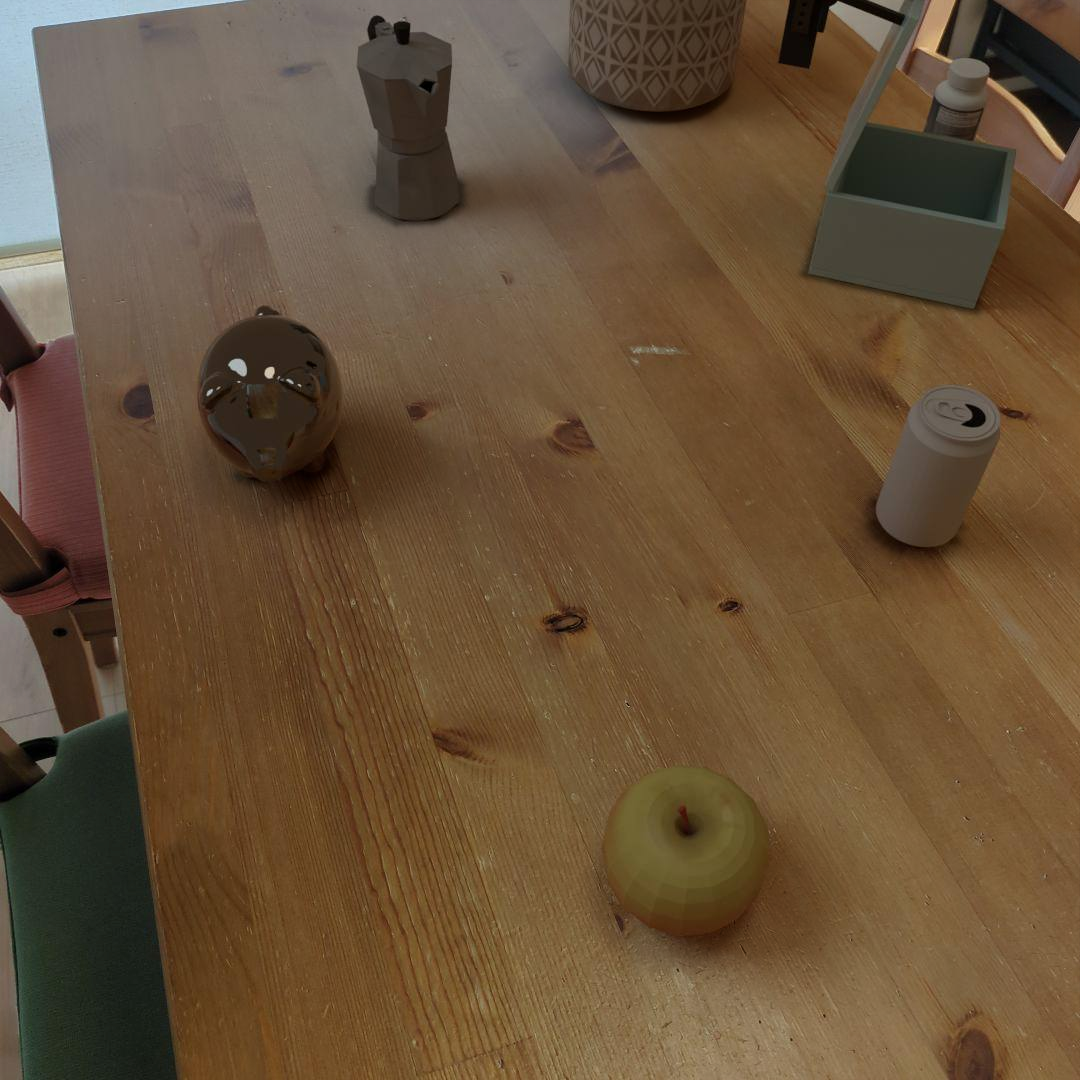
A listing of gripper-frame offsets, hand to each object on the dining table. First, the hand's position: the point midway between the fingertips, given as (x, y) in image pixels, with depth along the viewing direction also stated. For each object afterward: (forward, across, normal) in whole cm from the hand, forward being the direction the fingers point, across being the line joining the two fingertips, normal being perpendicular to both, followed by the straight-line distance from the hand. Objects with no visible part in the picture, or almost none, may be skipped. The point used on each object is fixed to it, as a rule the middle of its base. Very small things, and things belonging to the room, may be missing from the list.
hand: (801, 45), depth 98 cm
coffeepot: (+19, +7, -36) cm, 41 cm away
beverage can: (+18, +35, +19) cm, 44 cm away
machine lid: (+1, 0, +8) cm, 8 cm away
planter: (+19, -23, -19) cm, 35 cm away
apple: (+18, +69, +9) cm, 72 cm away
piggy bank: (+19, +45, -31) cm, 58 cm away
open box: (+18, 0, +13) cm, 23 cm away
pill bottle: (+18, -19, +15) cm, 31 cm away
